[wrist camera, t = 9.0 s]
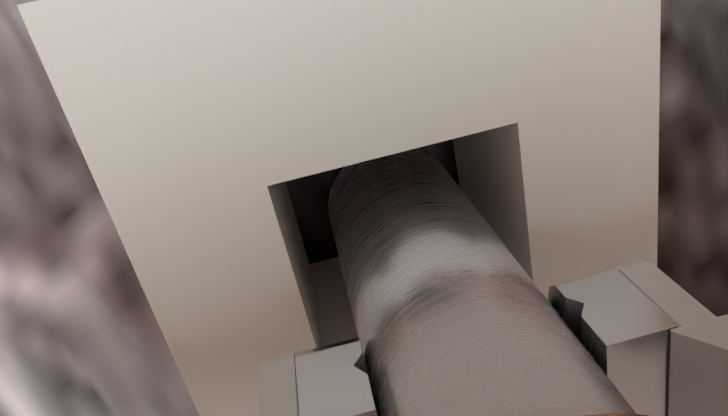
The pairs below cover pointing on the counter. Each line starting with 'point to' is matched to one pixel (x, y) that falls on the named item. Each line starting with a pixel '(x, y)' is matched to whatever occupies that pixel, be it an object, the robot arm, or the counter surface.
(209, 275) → the dock
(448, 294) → the pin
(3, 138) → the counter surface
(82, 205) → the counter surface
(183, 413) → the counter surface
